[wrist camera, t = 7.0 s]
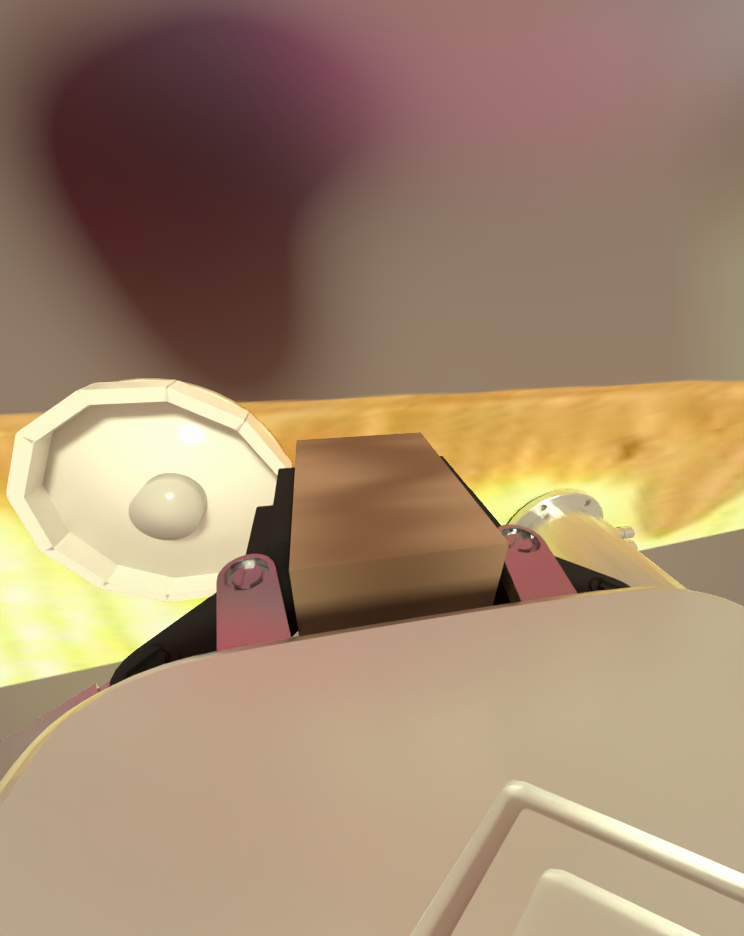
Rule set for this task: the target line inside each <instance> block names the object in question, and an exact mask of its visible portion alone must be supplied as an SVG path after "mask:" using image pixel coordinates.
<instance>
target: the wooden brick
mask: <svg viewBox="0 0 744 936" xmlns="http://www.w3.org/2000/svg"><path fill="white" fill-rule="evenodd" d="M508 546H509V542H508V541H507V540H506V539H505V537H504V536H503V535H502V534H501V532H500V531H499V530H498V529H497V527H496V526H495V525H494V524H493V522H492V521H491V520H490V519H489V517H488V516H487V515H486V514H485V512H484V511H483V510H482V509H481V507H480V506H479V505H478V504H477V502H476V501H475V500H474V499H473V497H472V496H471V495H470V494H469V492H468V491H467V490H466V489H465V487H464V486H463V485H462V484H461V482H460V481H459V480H458V479H457V477H456V476H455V475H454V474H453V472H452V471H451V470H450V469H449V467H448V466H447V465H446V464H445V462H444V461H443V460H442V459H441V458H440V456H439V455H438V454H437V453H436V451H435V450H434V449H433V448H432V446H431V445H430V444H429V443H428V441H427V440H426V439H425V438H424V436H423V435H422V434H421V433H406V434H391V435H375V436H359V437H343V438H327V439H311V440H297V443H296V460H295V477H294V494H293V511H292V527H291V544H290V561H289V574H290V580H291V587H292V593H293V600H294V606H295V612H296V619H297V625H298V632H299V636H304V635H310V634H317V633H323V632H329V631H335V630H341V629H348V628H354V627H360V626H366V625H372V624H379V623H385V622H391V621H398V620H404V619H411V618H417V617H423V616H430V615H436V614H443V613H449V612H456V611H462V610H469V609H475V608H482V607H488V606H493V602H494V598H495V595H496V591H497V587H498V583H499V580H500V576H501V572H502V568H503V565H504V561H505V557H506V553H507V550H508Z"/></svg>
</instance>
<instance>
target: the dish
mask: <svg viewBox="0 0 744 936" xmlns="http://www.w3.org/2000/svg"><path fill="white" fill-rule="evenodd" d="M280 468H292V464H291V461H290V460H289V458H288V457H287V455H286V453H285V452H284V450H283V448H282V446H281V444H280V443H279V442H278V440H277V439H276V438H275V436H274V435H273V433H272V432H271V431H270V430H269V429H268V428H267V427H266V426H265V425H264V424H263V423H262V422H261V421H260V420H259V419H258V418H257V417H255V416H254V415H253V414H252V413H251V412H249V411H248V410H247V409H245V408H244V407H242V406H241V405H239V404H238V403H236V402H234V401H233V400H231V399H229V398H227V397H225V396H223V395H221V394H219V393H217V392H214V391H211V390H208V389H206V388H203V387H201V386H197V385H194V384H190V383H185V382H182V381H176V380H168V379H159V378H138V379H128V380H121V381H117V382H102V383H94V384H91V385H89V386H87V387H84V388H82V389H80V390H77V391H76V392H74V393H73V394H71V395H70V396H68V397H67V398H66V399H64V400H63V401H61V402H60V403H58V404H57V405H56V406H54V407H53V408H51V409H50V410H49V411H47V412H46V413H44V414H43V415H41V416H40V417H38V418H37V419H36V420H34V421H33V422H31V423H30V424H28V425H27V426H26V427H24V428H23V429H21V430H20V431H18V432H17V434H16V436H15V442H14V449H13V455H12V461H11V467H10V473H9V479H8V486H7V492H6V495H8V496H7V498H8V500H9V502H10V503H11V505H12V506H13V508H14V510H15V511H16V513H17V514H18V516H19V518H20V519H21V521H22V523H23V524H24V526H25V527H26V529H27V531H28V532H29V534H30V535H31V537H32V539H33V540H34V542H35V543H36V545H37V547H38V548H39V550H40V551H41V552H42V551H44V552H43V554H45V555H46V556H48V557H49V558H51V559H53V560H54V561H56V562H58V563H59V564H61V565H63V566H64V567H66V568H68V569H69V570H71V571H72V572H74V573H76V574H77V575H79V576H81V577H82V578H84V579H86V580H87V581H89V582H90V583H92V584H94V585H95V586H97V587H99V588H102V587H103V588H102V589H104V590H109V591H114V592H119V593H124V594H128V595H133V596H138V597H143V598H148V599H153V600H158V601H163V602H167V601H168V602H174V601H181V600H189V599H196V598H203V597H211V596H212V595H213V594H215V593H216V581H217V577H218V574H219V572H220V571H221V569H222V568H223V567H224V566H225V565H226V564H227V563H229V562H230V561H232V560H234V559H235V558H238V557H240V556H243V555H246V551H247V547H248V542H249V538H250V533H251V529H252V525H253V520H254V516H255V512H256V508H257V507H259V506H269V505H273V501H274V495H275V488H276V482H277V475H278V469H280Z"/></svg>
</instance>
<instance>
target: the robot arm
mask: <svg viewBox="0 0 744 936" xmlns="http://www.w3.org/2000/svg"><path fill="white" fill-rule="evenodd" d="M440 458H441V459H442V460H443V461H444V462H445V464H446V465H447V466H448V467H449V469H450V470H451V471H452V472H453V474H454V475H455V476H456V477H457V479H458V480H459V481H460V482H461V484H462V485H463V486H464V487H465V489H466V490H467V491H468V492H469V494H470V495H471V496H472V497H473V499H474V500H475V501H476V502H477V504H478V505H479V506H480V507H481V509H482V510H483V511H484V512H485V514H486V515H487V516H488V517H489V519H490V520H491V521H492V522H493V524H494V525H495V526H496V527H497V529H498V530H499V531H500V532H501V534H502V535H503V536H504V537H505V539H506V540H507V541H508V542H509V546H508V550H507V553H506V557H505V561H504V565H503V568H502V572H501V576H500V580H499V583H498V587H497V591H496V595H495V598H494V602H493V606H488V607H482V608H475V609H469V610H462V611H456V612H449V613H443V614H436V615H430V616H423V617H417V618H411V619H404V620H398V621H391V622H385V623H379V624H372V625H366V626H360V627H354V628H348V629H341V630H335V631H329V632H323V633H317V634H310V635H304V636H298V637H292V636H293V635H294V634H295V633H296V632H297V631H298V625H297V619H296V612H295V606H294V600H293V593H292V587H291V580H290V574H289V561H290V544H291V527H292V511H293V494H294V477H295V467H294V468H280V469H278V475H277V482H276V488H275V495H274V501H273V505H269V506H259V507H257V508H256V512H255V516H254V520H253V525H252V529H251V533H250V538H249V542H248V547H247V551H246V555H243V556H240V557H238V558H235V559H234V560H232V561H230V562H229V563H227V564H226V565H225V566H224V567H223V568H222V569H221V571H220V572H219V574H218V577H217V581H216V593H215V594H213V595H212V596H211V597H209V598H208V599H206V600H205V601H204V602H202V603H201V604H199V605H198V606H197V607H195V608H194V609H192V610H191V611H190V612H188V613H187V614H185V615H184V616H183V617H181V618H180V619H179V620H177V621H176V622H174V623H173V624H172V625H170V626H169V627H167V628H166V629H165V630H163V631H162V632H160V633H159V634H158V635H156V636H155V637H153V638H152V639H151V640H149V641H148V642H147V643H145V644H144V645H142V646H141V647H140V648H138V649H137V650H135V651H134V652H133V653H132V654H131V655H129V656H128V657H127V658H126V659H125V660H124V661H123V662H122V663H121V665H120V666H119V667H118V668H117V669H116V671H115V673H114V675H113V677H112V679H111V681H109V682H108V683H106V684H104V685H103V686H101V687H98V686H97V684H96V683H95V684H94V685H92V686H90V687H89V688H87V689H86V690H84V691H82V692H81V693H79V694H77V695H76V696H74V697H72V698H71V699H69V700H68V701H66V702H64V703H62V704H61V705H59V706H57V707H56V708H54V709H52V710H51V711H49V712H47V713H46V714H44V715H42V716H41V717H39V718H37V719H36V720H34V721H33V722H31V723H29V724H28V725H26V726H24V727H23V728H21V729H19V730H18V731H16V732H14V733H13V734H11V735H10V736H8V737H6V738H4V739H3V740H1V741H0V936H744V607H743V606H741V605H739V604H737V603H735V602H732V601H730V600H727V599H724V598H720V597H717V596H714V595H710V594H706V593H702V592H696V591H690V590H688V589H686V588H685V587H684V586H682V585H681V584H680V583H678V582H677V581H676V580H675V579H673V578H672V577H671V576H670V575H668V574H667V573H666V572H664V571H663V570H662V569H661V568H659V567H658V566H657V565H655V564H654V563H653V562H652V561H650V560H649V559H648V558H646V557H645V556H644V555H642V554H641V553H640V552H639V551H637V546H636V544H635V543H634V542H633V541H632V540H630V539H626V540H623V539H625V538H632V537H633V536H634V530H633V529H632V528H631V527H630V526H625V527H617V528H614V527H613V526H611V525H610V524H609V523H608V522H606V521H605V520H604V519H603V512H602V508H601V506H600V505H599V503H598V502H597V501H596V500H595V499H594V498H592V497H591V496H589V495H588V494H586V493H585V492H582V491H579V490H572V489H565V490H558V491H554V492H550V493H547V494H545V495H543V496H540V497H538V498H536V499H535V500H533V501H531V502H530V503H528V504H527V505H526V506H525V507H523V508H522V509H521V510H520V511H519V512H518V513H517V514H516V515H515V516H514V517H513V518H512V520H511V521H510V522H509V524H508V525H503V526H501V525H500V524H499V522H498V521H497V520H496V519H495V518H494V516H493V515H492V514H491V513H490V512H489V511H488V509H487V508H486V507H485V506H484V505H483V503H482V502H481V501H480V500H479V499H478V497H477V496H476V495H475V494H474V493H473V491H472V490H471V489H470V488H469V487H468V486H467V485H466V484H465V483H464V481H463V480H462V479H461V478H460V477H459V475H458V474H457V473H456V472H455V471H454V469H453V468H452V467H451V466H450V465H449V463H448V462H447V461H446V460H445V459H444V457H442V456H440ZM291 637H292V638H291Z"/></svg>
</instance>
